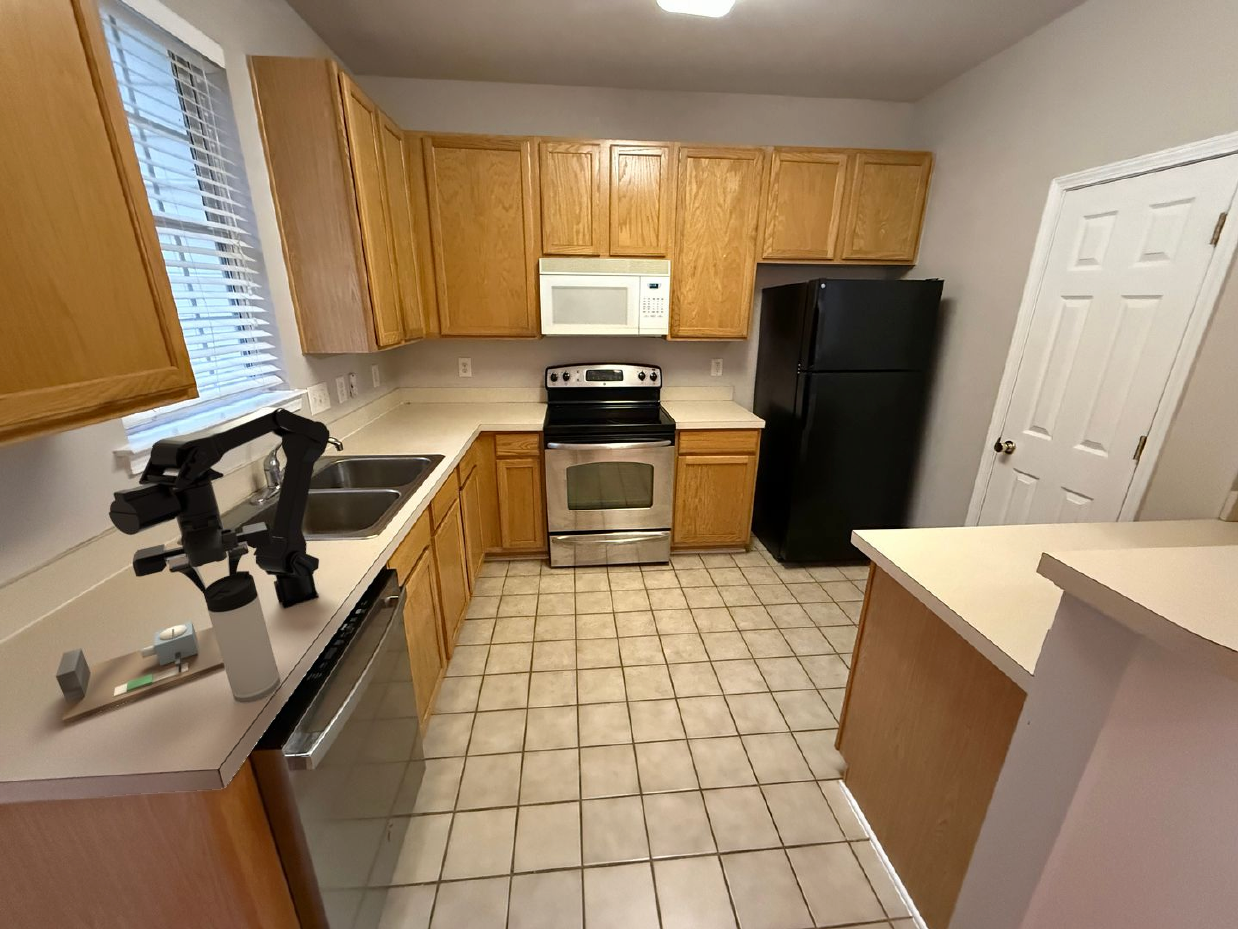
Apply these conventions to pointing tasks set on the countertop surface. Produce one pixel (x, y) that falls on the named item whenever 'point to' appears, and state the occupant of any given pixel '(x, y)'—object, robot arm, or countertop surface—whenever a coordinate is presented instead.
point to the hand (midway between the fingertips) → (219, 589)
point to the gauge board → (128, 677)
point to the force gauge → (173, 644)
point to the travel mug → (242, 636)
